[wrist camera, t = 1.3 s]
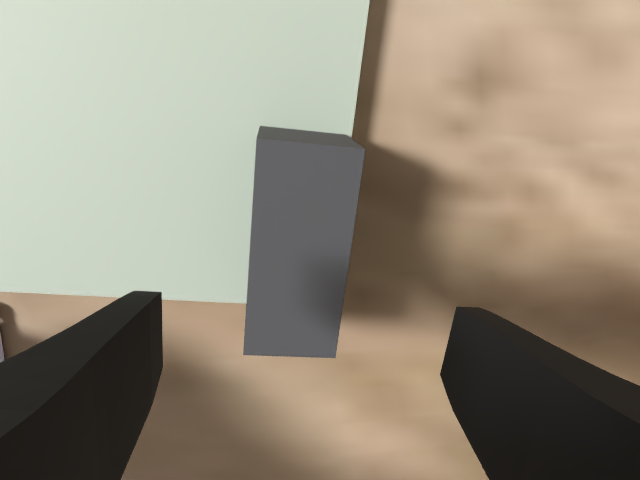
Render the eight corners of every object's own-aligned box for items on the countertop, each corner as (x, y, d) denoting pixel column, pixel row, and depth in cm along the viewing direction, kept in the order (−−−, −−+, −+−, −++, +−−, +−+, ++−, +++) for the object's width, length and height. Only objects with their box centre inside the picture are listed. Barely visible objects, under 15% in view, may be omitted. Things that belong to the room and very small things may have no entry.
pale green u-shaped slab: (326, 297, 21) (339, 350, 17) (-29, 279, 19) (-113, 334, 15) (394, -227, 15) (442, -350, 11) (-137, -343, 13) (-341, -555, 8)
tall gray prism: (324, 307, 20) (335, 358, 17) (249, 303, 20) (243, 354, 16) (346, 134, 18) (365, 149, 14) (260, 125, 17) (256, 138, 14)
